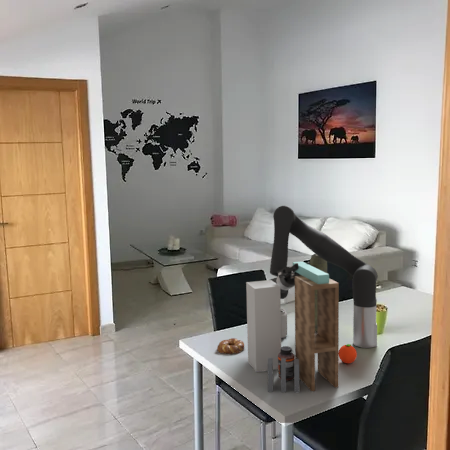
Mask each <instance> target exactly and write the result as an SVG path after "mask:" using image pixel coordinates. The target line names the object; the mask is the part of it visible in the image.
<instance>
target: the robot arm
mask: <svg viewBox="0 0 450 450" xmlns="http://www.w3.org/2000/svg"><path fill="white" fill-rule="evenodd" d="M272 215H273V217H272V218H273V226H274V227H273V228H274V230H273V231H274V232H273V233H274V234H273V244H272V252H271V260H270V267H269V273H270V275H272V276H274V278H270V279H269V280H272V281H273V282H275V283H276V284H278V285H279V286H280V300H285V299H286V298H287V297H288V295H289V290H291V289H292V288H295V276H302V275H300V274H299V273H297V272H295V271H297V270H298V269H299V267H298V263H295V264H294V265H293V264H292V265H290V266H288V261H289V260H288V257H289V238H290V235H292V236H294V237H296V238H297V239H298V240H299V241H300V242H301V243H302V244H304V246H306V248H307V249H309V250H310V251H311V252H312V253H314V254H317V255H318V256H319V257H321V258H322V259H324V260H325V261H327V263H329V264H332V265H334V266H337V267H339V268H341V269H343V270H344V271H345V272H347V273H348V274H349V275H350V276H352V300H353V306H352V307H353V308H352V309H353V310H352V311H353V314H352V315H353V317H352V320H353V323H352V324H353V327H352V328H353V329H352V333H353V334H352V336H353V337H352V342H353V343H352V344H353V345H354V346H355V347H358V348H366V349H370V348H374V347H376V348H377V347H378V323H377V302H378V301H377V300H378V299H377V294H376V293H377V281H378V278H379V277H378V273H377V271H376V269H375V268H374V267H373V266H372V265H370V264H368V263H367V262H365V261H363V260H362V259H359V258H358V257H356V256H354V255H353V254H352V253H351V252H349V251H348V250H347V249H346V248H345V247H343V246H342V245H341V244H339V243H338V242H336V241H335V240H334V239H333V238H331V237H330V236H328V235H327V234H325V233H324V232H323V231H321V230H319V229H317V228H315V227H312V226H310V225H308V224H307V223H306V222H304V220H302V219H301V218H300V217H299V216H297V215H296V213H295V211H294V210H293V209H292V208H291V207H290V206H288V205H280V206H278V207H277V208H276V209H275V210H274V213H273V214H272ZM305 263H306V264H309V265H311V264H310V261H307V262H305Z"/></svg>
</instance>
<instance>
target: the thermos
mask: <svg viewBox="0 0 450 450" xmlns="http://www.w3.org/2000/svg"><path fill="white" fill-rule="evenodd" d="M309 263H310V264H311V266H313V267H315V268H317V269H319V270H321V271H323V272H325V273H327V274H328V262H327V261H325V260H324V259H322V258H321V257H319V256H318V255H317V254H315V253H314V254H311V257H310V259H309ZM315 334H317V290H315Z"/></svg>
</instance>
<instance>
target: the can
mask: <svg viewBox="0 0 450 450" xmlns="http://www.w3.org/2000/svg"><path fill="white" fill-rule="evenodd" d="M287 335H288V313H287V312H286V309H284V308H281V339H285V338H286V336H287Z"/></svg>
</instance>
